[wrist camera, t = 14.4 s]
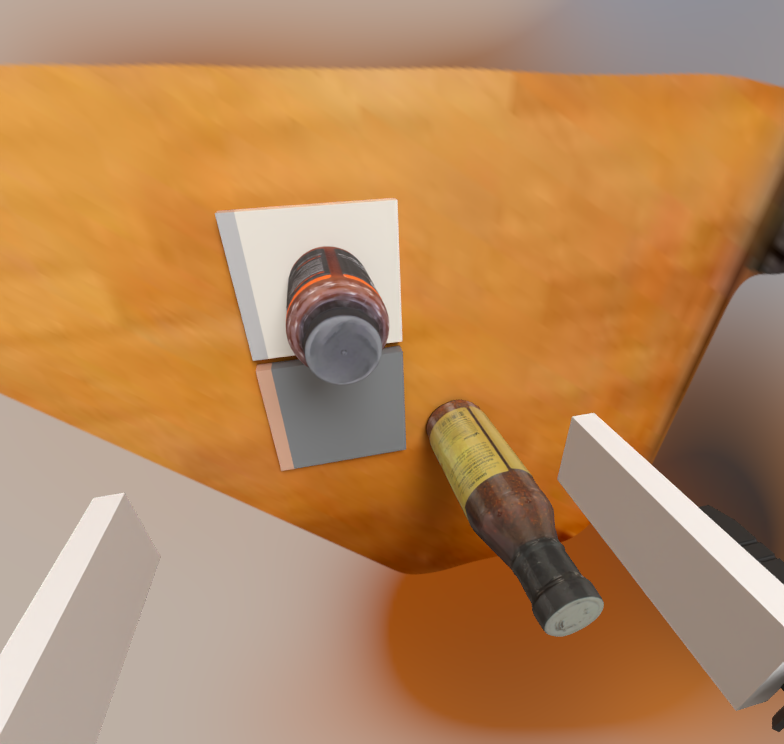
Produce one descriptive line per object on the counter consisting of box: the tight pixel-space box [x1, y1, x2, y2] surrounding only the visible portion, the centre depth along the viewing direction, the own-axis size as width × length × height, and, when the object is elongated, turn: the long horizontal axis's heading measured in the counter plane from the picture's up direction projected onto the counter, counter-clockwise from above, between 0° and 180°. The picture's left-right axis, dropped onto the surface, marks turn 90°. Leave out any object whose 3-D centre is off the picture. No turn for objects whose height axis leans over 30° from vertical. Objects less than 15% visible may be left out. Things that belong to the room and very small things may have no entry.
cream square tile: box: [215, 198, 402, 361], centre depth 30 cm, size 12×11×1 cm
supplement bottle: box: [286, 246, 389, 385], centre depth 24 cm, size 6×6×11 cm
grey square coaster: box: [256, 346, 406, 471], centre depth 36 cm, size 12×11×1 cm
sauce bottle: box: [427, 400, 604, 636], centre depth 31 cm, size 6×6×20 cm
